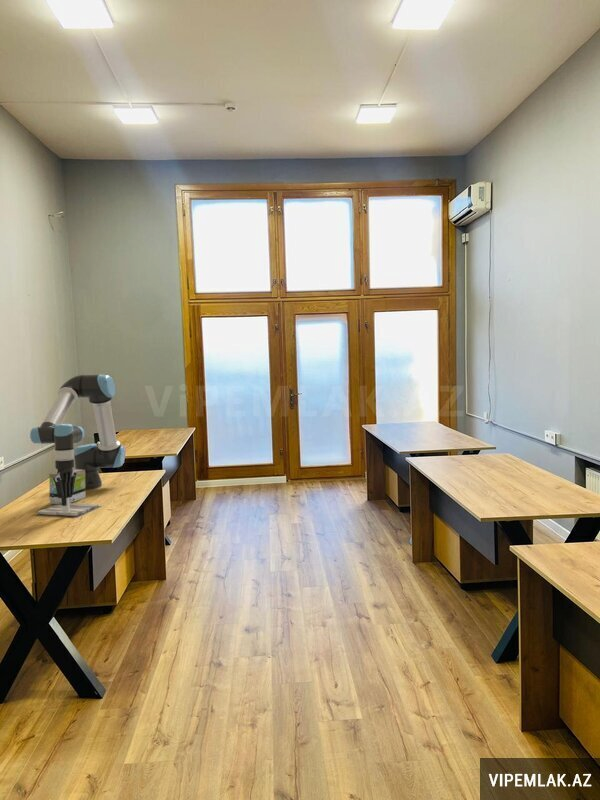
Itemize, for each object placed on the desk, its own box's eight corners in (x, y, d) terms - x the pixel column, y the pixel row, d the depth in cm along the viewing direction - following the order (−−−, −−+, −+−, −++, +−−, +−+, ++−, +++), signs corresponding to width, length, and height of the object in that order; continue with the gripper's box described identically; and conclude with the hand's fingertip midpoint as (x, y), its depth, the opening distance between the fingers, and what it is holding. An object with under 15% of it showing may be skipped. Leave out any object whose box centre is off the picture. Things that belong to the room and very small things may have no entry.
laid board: (61, 505, 253) (60, 502, 253) (98, 507, 249) (98, 504, 249) (49, 509, 246) (49, 507, 246) (88, 511, 241) (87, 509, 241)
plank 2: (68, 511, 243) (68, 508, 243) (86, 512, 241) (86, 509, 241) (56, 514, 235) (56, 512, 235) (75, 515, 233) (75, 513, 233)
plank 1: (49, 510, 245) (49, 507, 245) (67, 511, 243) (67, 508, 243) (37, 513, 237) (37, 511, 237) (55, 514, 235) (55, 512, 235)
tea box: (67, 505, 253) (66, 474, 253) (49, 504, 255) (48, 473, 255) (86, 497, 268) (85, 468, 267) (68, 497, 270) (67, 468, 269)
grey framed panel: (62, 504, 256) (62, 503, 256) (102, 506, 251) (102, 506, 251) (34, 515, 237) (34, 515, 237) (77, 518, 232) (77, 517, 232)
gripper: (66, 456, 240) (68, 508, 241) (47, 461, 227) (48, 515, 229) (81, 457, 238) (82, 509, 239) (62, 461, 226) (64, 516, 227)
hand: (66, 512), depth 234 cm, fingers closed
